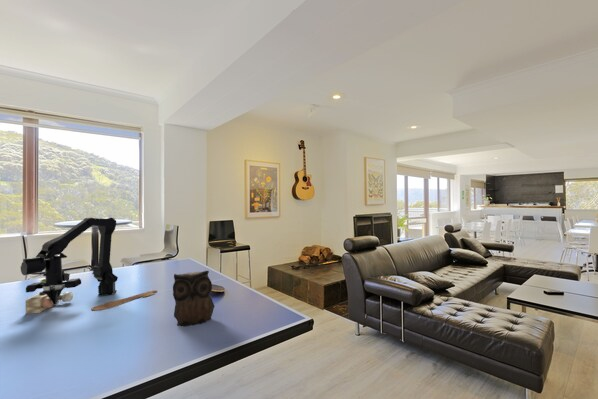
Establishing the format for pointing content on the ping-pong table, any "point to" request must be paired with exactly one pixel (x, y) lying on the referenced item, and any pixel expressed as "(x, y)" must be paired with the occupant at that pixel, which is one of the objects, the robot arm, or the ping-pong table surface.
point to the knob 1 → (47, 303)
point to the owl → (192, 298)
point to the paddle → (122, 301)
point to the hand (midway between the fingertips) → (55, 304)
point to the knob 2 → (66, 296)
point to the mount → (35, 303)
